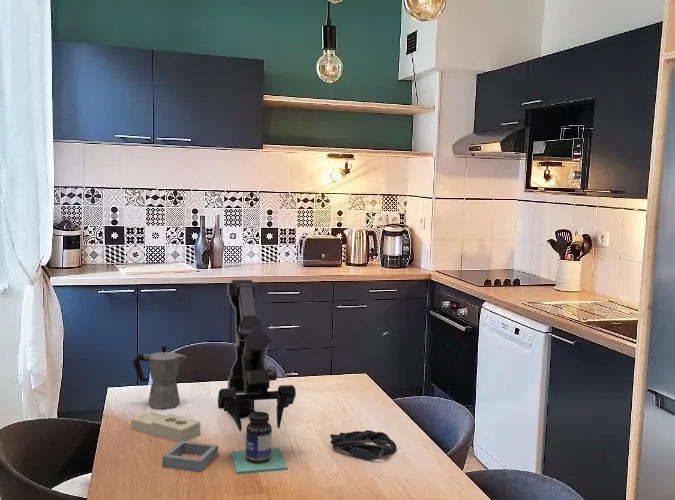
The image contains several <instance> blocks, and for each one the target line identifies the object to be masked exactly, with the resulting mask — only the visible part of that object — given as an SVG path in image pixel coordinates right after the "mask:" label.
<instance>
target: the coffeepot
mask: <svg viewBox="0 0 675 500" xmlns="http://www.w3.org/2000/svg"><path fill="white" fill-rule="evenodd" d="M160 348H161V351H160V352H159V351H158V352H153V353H146V354H143V353H142V354H141V353H139V354H138V355H137V356H136V357H134V358H133V362H132V363H133V365H134V368H135V371H136V374H137V376H138V379H139V381H140V382H145V383H146V382H147V381H148V378H146V377H144V372H143V371H142V368H141V363H140V362H142V361H144V362H148V364H149V366H148V367H149V372H150V378H151V379H152V383H151V385H150V392H149V396H148V402H147V405H148V406H149V407H150V409H153V410H160V411H161V410H171V409H175V408H176V407H178V406H179V404H181V401H180V395H179V391H178V390H179V389H178V384H177V381H176V379H177V377H178V375H179V374H178V373H179V369H180V367H181V366H182V364H183V363H184V361H185V360H186V359H187V357H188V356H186V355H185V354H180V353H177V352H172V351H171V352H170V351H167V350H168V349H167V348H168V346H166V345H163V346H161V347H160Z"/></svg>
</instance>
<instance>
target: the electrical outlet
mask: <svg viewBox="0 0 675 500" xmlns="http://www.w3.org/2000/svg"><path fill="white" fill-rule="evenodd" d="M131 430H135V431H137V432H142V433H144V434H148V435H152V436H156V437H158V438H163V439H166V440H169V441H173V442H177V443H179V442H180V441H190V440H192V439H194V438H195V437H198V436H201V422H200V421H199V420H195V419H192V418H188V417H184V416H180V415H176V414H172V413H169V414H166V415H165V414H161V413H158V412H153V411H149V412H146V413H144V414H141V415H139V416H136V417H134V418H131Z"/></svg>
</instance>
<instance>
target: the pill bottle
mask: <svg viewBox="0 0 675 500" xmlns="http://www.w3.org/2000/svg"><path fill="white" fill-rule="evenodd" d="M248 417H249V419H248V420H249V423H248V424H247V425H246V430H245V431H246V432H245V434H246V435H245V450H246V459H247V461H249V462H252V463H264V462H267V461H269V460H270V458H271V448H272V429H273V428H272V427H273V426H272V425H271V423H269V421H270V415H269V413H268V412H265V411H257V412H254V413H251V414H250V416H248Z"/></svg>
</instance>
